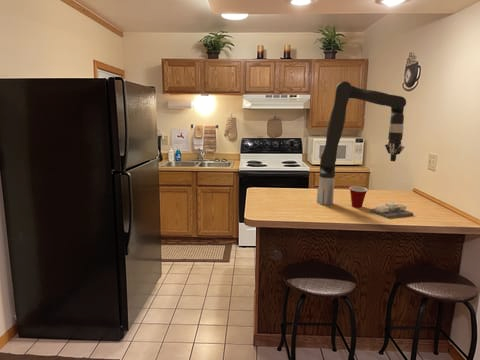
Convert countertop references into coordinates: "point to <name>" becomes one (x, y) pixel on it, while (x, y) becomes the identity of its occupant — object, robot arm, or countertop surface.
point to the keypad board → (392, 213)
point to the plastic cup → (357, 195)
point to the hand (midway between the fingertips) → (392, 161)
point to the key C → (402, 207)
